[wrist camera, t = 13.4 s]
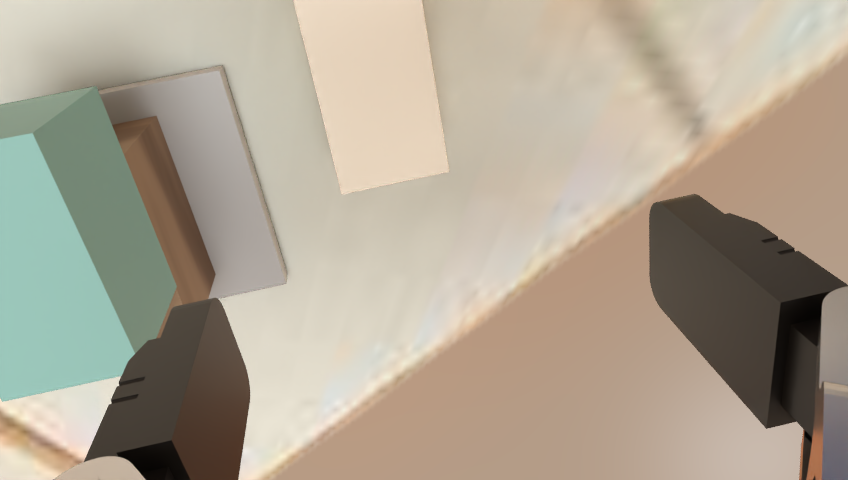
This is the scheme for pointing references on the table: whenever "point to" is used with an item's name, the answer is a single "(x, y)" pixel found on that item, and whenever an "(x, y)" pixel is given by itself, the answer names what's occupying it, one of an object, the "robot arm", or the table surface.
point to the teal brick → (72, 248)
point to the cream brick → (374, 89)
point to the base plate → (210, 172)
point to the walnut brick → (167, 209)
